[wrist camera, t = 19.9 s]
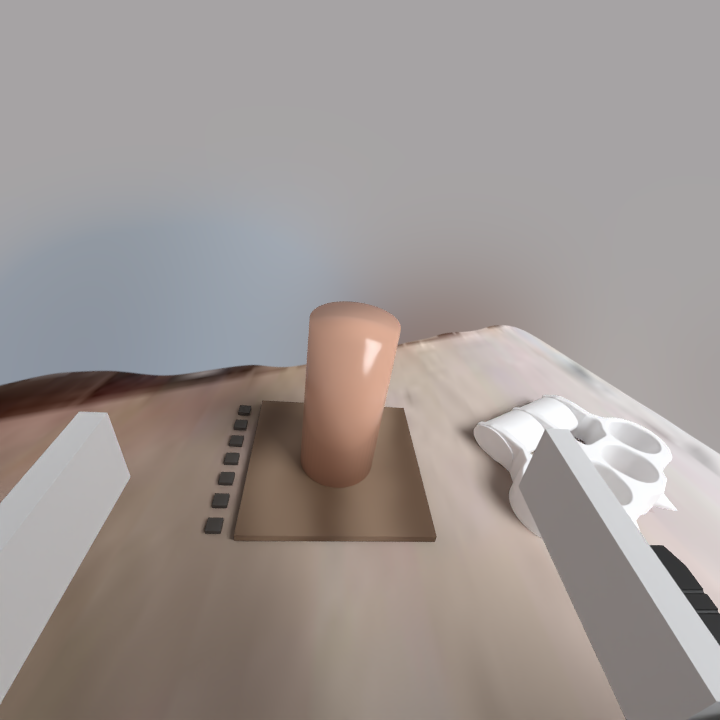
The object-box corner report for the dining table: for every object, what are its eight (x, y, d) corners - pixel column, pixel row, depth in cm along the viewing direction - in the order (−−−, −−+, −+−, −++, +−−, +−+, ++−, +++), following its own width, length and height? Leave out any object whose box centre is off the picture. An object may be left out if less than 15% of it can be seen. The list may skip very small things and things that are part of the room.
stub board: (402, 412, 39) (403, 408, 39) (434, 541, 28) (436, 536, 27) (241, 404, 37) (241, 399, 37) (203, 540, 26) (202, 535, 25)
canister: (368, 434, 35) (393, 305, 28) (375, 488, 30) (408, 348, 23) (302, 431, 34) (311, 298, 27) (298, 487, 29) (308, 341, 22)
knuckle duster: (555, 402, 45) (694, 496, 36) (445, 451, 36) (590, 596, 26) (567, 379, 44) (717, 471, 34) (454, 425, 34) (615, 570, 25)
